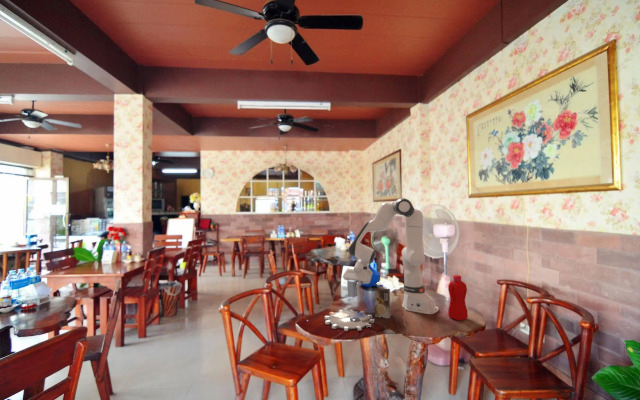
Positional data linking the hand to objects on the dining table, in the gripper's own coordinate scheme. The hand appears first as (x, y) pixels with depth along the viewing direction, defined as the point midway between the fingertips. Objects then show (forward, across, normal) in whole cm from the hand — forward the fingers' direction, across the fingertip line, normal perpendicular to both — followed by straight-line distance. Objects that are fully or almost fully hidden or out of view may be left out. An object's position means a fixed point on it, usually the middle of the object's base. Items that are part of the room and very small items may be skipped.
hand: (352, 286), depth 199 cm
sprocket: (+23, +12, -4) cm, 26 cm away
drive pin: (+4, 0, +4) cm, 6 cm away
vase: (-26, -21, +46) cm, 56 cm away
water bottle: (-7, +57, +28) cm, 64 cm away
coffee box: (+10, +22, +10) cm, 26 cm away
